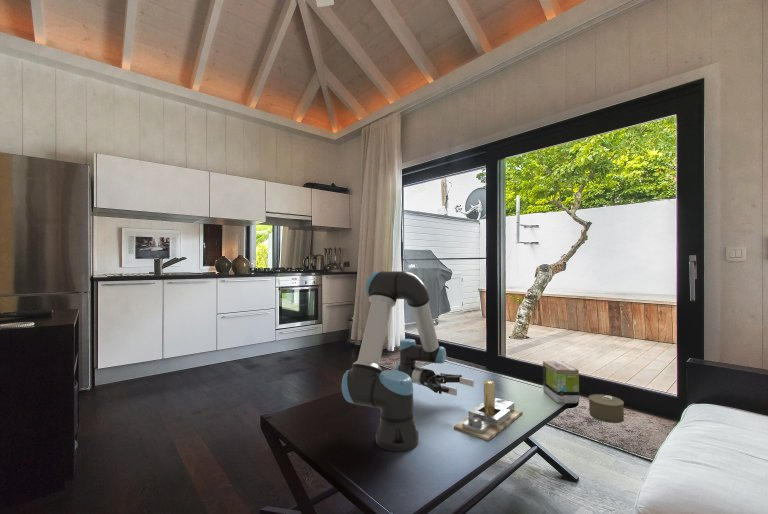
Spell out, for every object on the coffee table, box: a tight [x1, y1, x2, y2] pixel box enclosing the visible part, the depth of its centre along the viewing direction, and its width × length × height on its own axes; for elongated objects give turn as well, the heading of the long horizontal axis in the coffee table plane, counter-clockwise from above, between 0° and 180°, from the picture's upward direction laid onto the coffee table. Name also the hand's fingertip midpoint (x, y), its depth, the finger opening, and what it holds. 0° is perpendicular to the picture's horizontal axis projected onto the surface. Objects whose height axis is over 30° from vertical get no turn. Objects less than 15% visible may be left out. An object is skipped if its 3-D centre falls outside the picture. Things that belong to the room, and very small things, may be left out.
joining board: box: [453, 408, 524, 442], centre depth 137 cm, size 30×14×1 cm, turn 137°
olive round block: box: [588, 393, 625, 424], centre depth 139 cm, size 12×12×7 cm
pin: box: [483, 380, 496, 416], centre depth 137 cm, size 4×4×14 cm
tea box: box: [542, 360, 580, 404], centre depth 161 cm, size 15×10×15 cm, turn 179°
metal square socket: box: [462, 397, 515, 434], centre depth 137 cm, size 28×12×3 cm, turn 137°
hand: (465, 387), depth 145 cm, fingers open, 13 cm apart
